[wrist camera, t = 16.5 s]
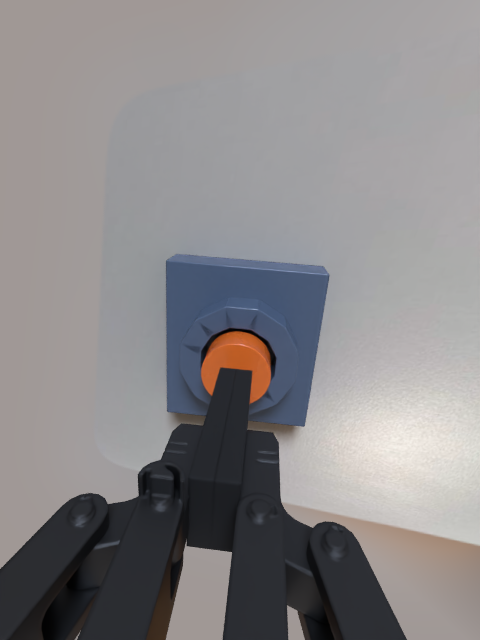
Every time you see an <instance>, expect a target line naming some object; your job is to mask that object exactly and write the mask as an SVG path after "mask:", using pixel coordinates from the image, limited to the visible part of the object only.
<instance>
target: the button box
mask: <svg viewBox="0 0 480 640" xmlns="http://www.w3.org/2000/svg"><path fill="white" fill-rule="evenodd" d="M328 281H329V273H328V272H327V271H326V269H325V268H324V267H323V266H312V265H300V264H288V263H276V262H265V261H253V260H241V259H229V258H217V257H205V256H193V255H182V254H176V255H174V256H173V257H171V258H170V259H168V260H167V261H166V308H167V412H174V413H184V414H193V415H202V416H206V414H207V411H208V408H209V404H210V401H211V397H212V396H211V395H210V394H209V393H208V392H207V390H206V389H205V387H204V385H203V382H202V378H201V368H202V364H203V362H204V359H205V356H206V354H207V351H208V349H209V347H210V345H211V344H212V342H213V341H214V340H215V339H216V338H218V337H219V336H221V335H223V334H225V333H228V332H233V331H241V332H247V333H250V334H252V335H254V336H256V337H257V338H259V339H260V340H261V341H262V342H263V343H264V344H265V345H266V347H267V349H268V351H269V353H270V358H271V380H270V385H269V387H268V389H267V391H266V392H265V394H264V395H263V396H262V397H261V398H259V399H258V400H257V401H255V402H253V403H251V404H249V415H248V421H257V422H267V423H276V424H285V425H294V426H303V427H304V426H305V421H306V415H307V409H308V403H309V397H310V391H311V384H312V378H313V372H314V366H315V360H316V354H317V348H318V342H319V336H320V330H321V324H322V317H323V311H324V305H325V299H326V293H327V287H328Z"/></svg>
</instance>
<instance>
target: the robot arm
mask: <svg viewBox="0 0 480 640" xmlns="http://www.w3.org/2000/svg"><path fill="white" fill-rule="evenodd" d="M252 372H253V371H252V370H242V369H232V368H223V367H220V370H219V373H218V377H217V380H216V383H215V387H214V390H213V394H212V397H211V401H210V404H209V408H208V411H207V414H206V418H205V421H204V425H203V426H200V425H191V424H182V423H181V424H180V425H179V426H178V427H177V428H176V429H175V430H174V431H173V432H172V434H171V436H170V439H169V441H168V444H167V446H166V448H165V452H164V453H163V456H162V458H161V460H159V461H155V462H152V463H150V464H148V465H147V466H145V467H144V468H142V470H141V471H140V472H139V474H138V488H139V489H138V490H139V496H138V497H136V498H134V499H132V500H128V501H125V502H119V503H113V504H107V502H106V500H105V498H103V497H102V496H100V495H99V494H93V493H88V494H82V495H79V496H77V497H74V498H72V499H70V500H69V501H68V502H66V503H65V504H64V505H63V506H62V507H61V508H60V509H59V510H58V511H57V512H56V513H55V514H54V515H53V516H52V517H51V518H50V519H49V520H48V521H47V522H46V523H45V524H44V525H43V526H42V527H41V528H40V529H39V530H38V531H37V532H36V533H35V534H34V536H32V537H31V539H29V541H27V542H26V543H25V545H23V547H22V548H21V549H20V550H19V551H18V552H17V553H16V554H15V555H14V556H13V557H12V558H11V559H10V560H9V561H8V562H7V563H6V564H5V565H4V566H3V567H2V568H1V569H0V640H75V638H76V636H77V635H78V634H79V632H80V631H81V632H80V634H79V636H78V639H77V640H166V635H167V631H168V627H169V622H170V618H171V614H172V610H173V605H174V601H175V597H176V592H177V588H178V584H179V580H180V575H181V571H182V567H183V551H184V548H185V543H186V539H187V546H190V547H198V548H205V549H213V550H221V551H228V552H232V559H231V569H230V577H229V586H228V596H227V605H226V614H225V623H224V632H223V640H288V622H287V605H288V606H290V607H292V608H294V609H296V610H297V611H298V615H299V619H300V623H301V626H302V630H303V634H304V637H305V640H407V639H406V637H405V635H404V633H403V631H402V629H401V627H400V625H399V623H398V621H397V619H396V617H395V615H394V613H393V611H392V609H391V607H390V605H389V603H388V601H387V599H386V597H385V595H384V593H383V591H382V588H381V586H380V585H379V583H378V581H377V578H376V576H375V574H374V572H373V570H372V569H371V566H370V564H369V562H368V560H367V558H366V556H365V554H364V552H363V550H362V548H361V546H360V544H359V542H358V541H357V539H356V538H355V536H354V535H353V533H352V532H350V531H349V530H348V529H346V528H345V527H344V526H342V525H340V524H337V523H334V522H322V523H318V524H317V525H316V526H315V527H314V528H312V527H309V526H307V525H305V524H303V523H300V522H299V521H297V520H295V519H293V518H292V517H291V516H290V515H289V514H287V512H286V510H285V509H284V507H283V505H282V503H281V498H280V471H279V442H278V441H277V439H276V437H275V436H274V434H273V433H271V432H262V431H253V430H247V426H248V415H249V404H250V394H251V383H252Z"/></svg>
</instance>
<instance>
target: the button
mask: <svg viewBox="0 0 480 640" xmlns="http://www.w3.org/2000/svg"><path fill="white" fill-rule="evenodd" d="M220 367H223V368H232V369H242V370H252V371H253V372H252V383H251V394H250V404H251V403H253V402H255V401H257V400H258V399H259V398H261V397H262V396H263V395H264V394H265V392H266V391H267V389H268V387H269V385H270V380H271V358H270V353H269V351H268V349H267V347H266V345H265V344H264V343H263V342H262V341H261V340H260V339H259V338H257V337H256V336H254V335H252V334H250V333H247V332H241V331H233V332H228V333H225V334H223V335H221V336H219V337H218V338H216V339H215V340H214V341H213V342H212V344H211V345H210V347H209V349H208V351H207V354H206V356H205V359H204V362H203V364H202V368H201V378H202V382H203V385H204V387H205V389H206V390H207V392H208V393H209V394H210V395H211V396H212V394H213V390H214V387H215V383H216V380H217V377H218V373H219V370H220Z"/></svg>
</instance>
